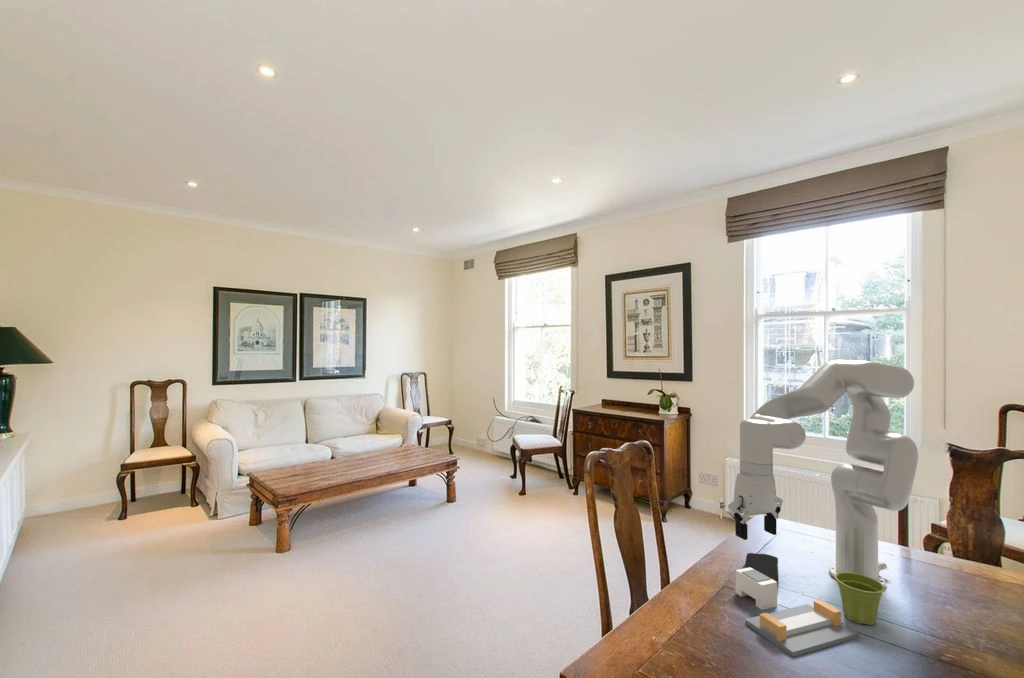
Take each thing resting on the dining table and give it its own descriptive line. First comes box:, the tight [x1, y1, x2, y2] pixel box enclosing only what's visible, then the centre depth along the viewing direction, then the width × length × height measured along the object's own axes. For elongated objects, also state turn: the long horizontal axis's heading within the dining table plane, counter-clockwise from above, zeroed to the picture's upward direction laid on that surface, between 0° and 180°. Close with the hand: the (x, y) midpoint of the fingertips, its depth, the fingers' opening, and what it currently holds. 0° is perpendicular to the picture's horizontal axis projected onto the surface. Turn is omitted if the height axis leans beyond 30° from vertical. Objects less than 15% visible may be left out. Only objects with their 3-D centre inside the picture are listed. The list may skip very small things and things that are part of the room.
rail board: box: [744, 599, 860, 658], centre depth 103 cm, size 20×12×4 cm, turn 110°
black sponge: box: [744, 552, 779, 588], centre depth 128 cm, size 16×8×4 cm, turn 150°
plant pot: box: [834, 572, 886, 626], centre depth 108 cm, size 9×9×9 cm
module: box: [735, 567, 778, 611], centre depth 115 cm, size 5×8×6 cm, turn 20°
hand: (755, 535), depth 116 cm, fingers open, 9 cm apart
